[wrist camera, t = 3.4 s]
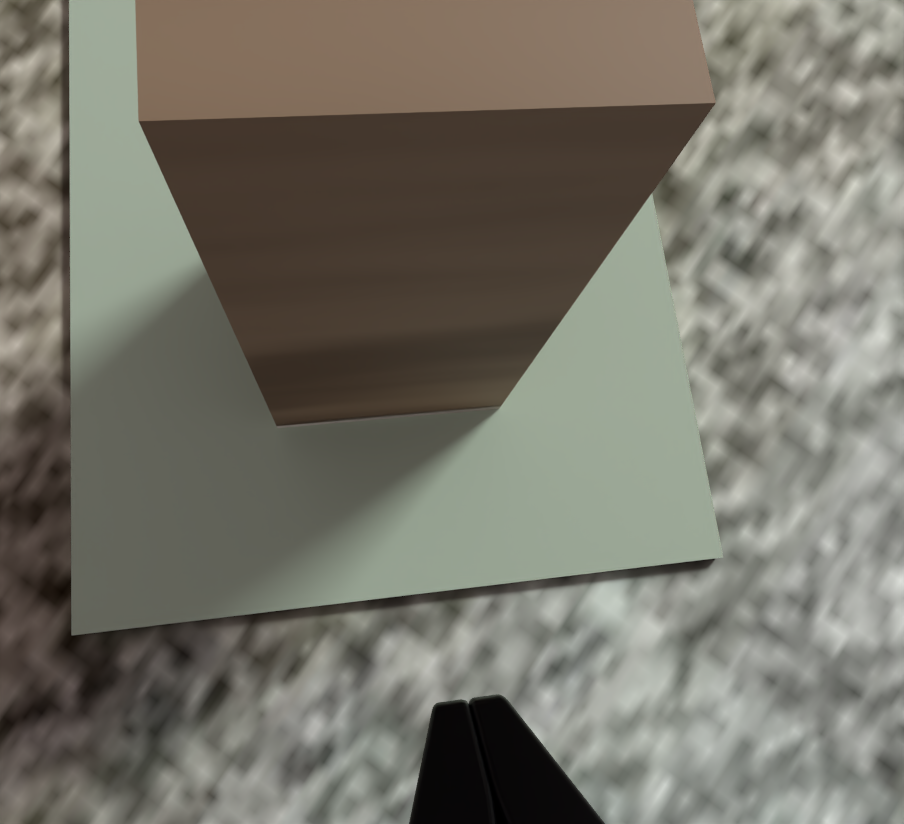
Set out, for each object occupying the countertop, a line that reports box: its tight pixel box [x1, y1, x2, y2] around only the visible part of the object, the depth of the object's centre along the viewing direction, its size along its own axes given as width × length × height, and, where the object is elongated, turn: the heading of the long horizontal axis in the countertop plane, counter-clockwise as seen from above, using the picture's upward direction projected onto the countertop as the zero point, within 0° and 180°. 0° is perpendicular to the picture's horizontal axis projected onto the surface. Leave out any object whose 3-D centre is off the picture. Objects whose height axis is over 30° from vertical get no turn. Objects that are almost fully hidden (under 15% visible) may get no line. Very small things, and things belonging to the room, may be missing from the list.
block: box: [135, 0, 716, 428], centre depth 13 cm, size 5×5×11 cm
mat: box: [69, 0, 723, 636], centre depth 19 cm, size 20×14×1 cm
